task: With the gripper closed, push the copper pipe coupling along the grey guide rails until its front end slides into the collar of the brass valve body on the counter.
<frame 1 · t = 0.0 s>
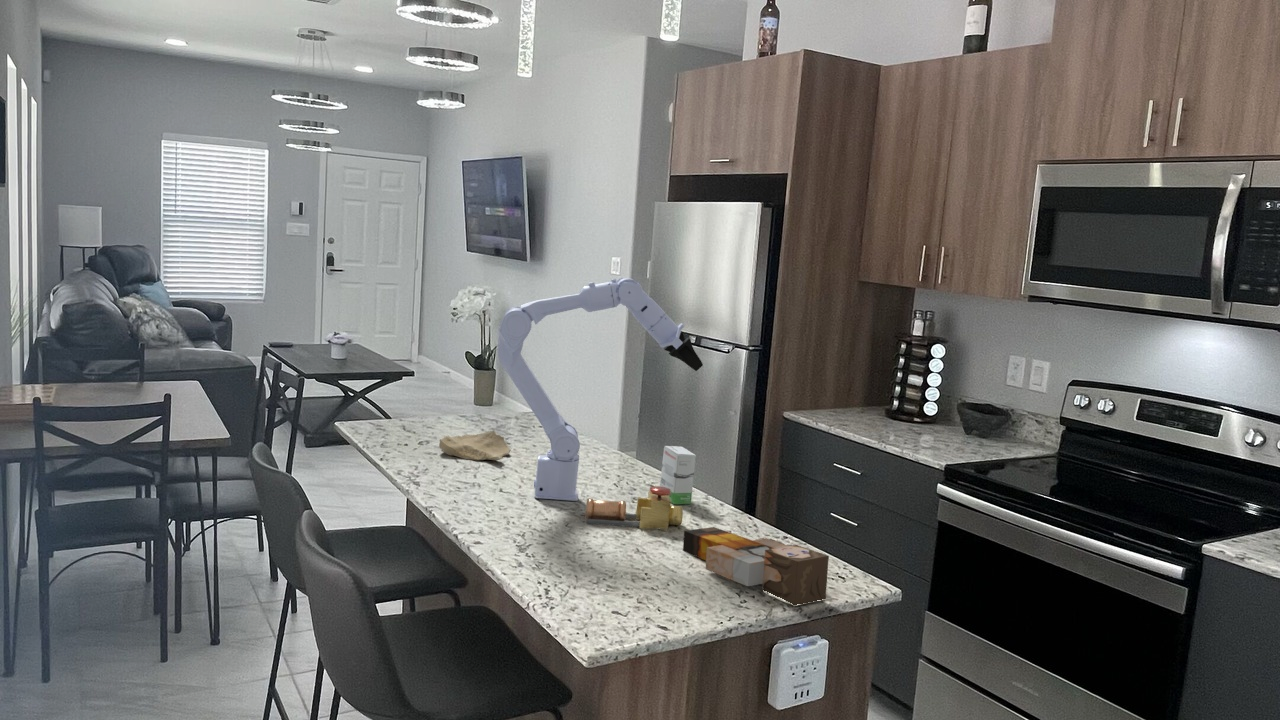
hand: (696, 365, 209), 32 cm above the kitchen island, tool tilted 50°, fingers open, 7 cm apart
valve: (656, 524, 197), on the kitchen island
coupling: (604, 520, 195), on the kitchen island
rock: (480, 457, 238), on the kitchen island
rails: (611, 521, 196), on the kitchen island
ink box: (674, 500, 217), on the kitchen island
toy: (749, 576, 173), on the kitchen island
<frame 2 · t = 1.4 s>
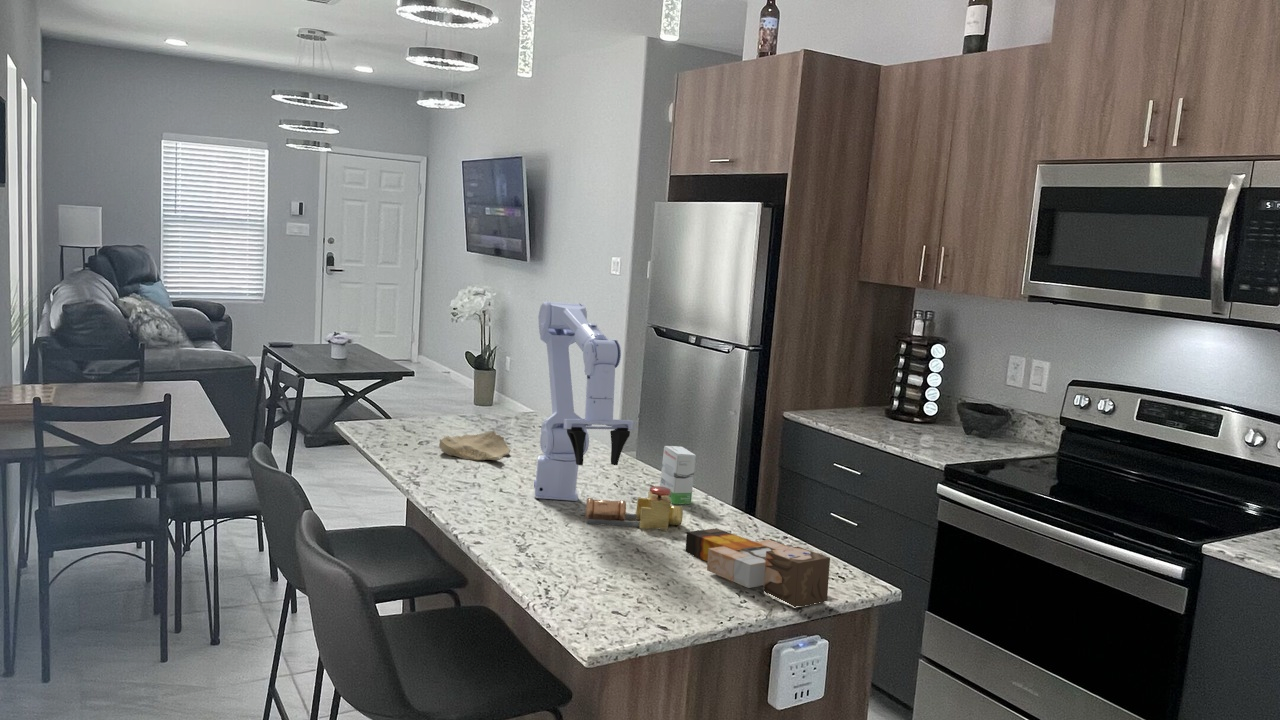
hand: (597, 464, 191), 12 cm above the kitchen island, tool pointing down, fingers open, 7 cm apart
coupling: (604, 520, 195), on the kitchen island, tilted 9°
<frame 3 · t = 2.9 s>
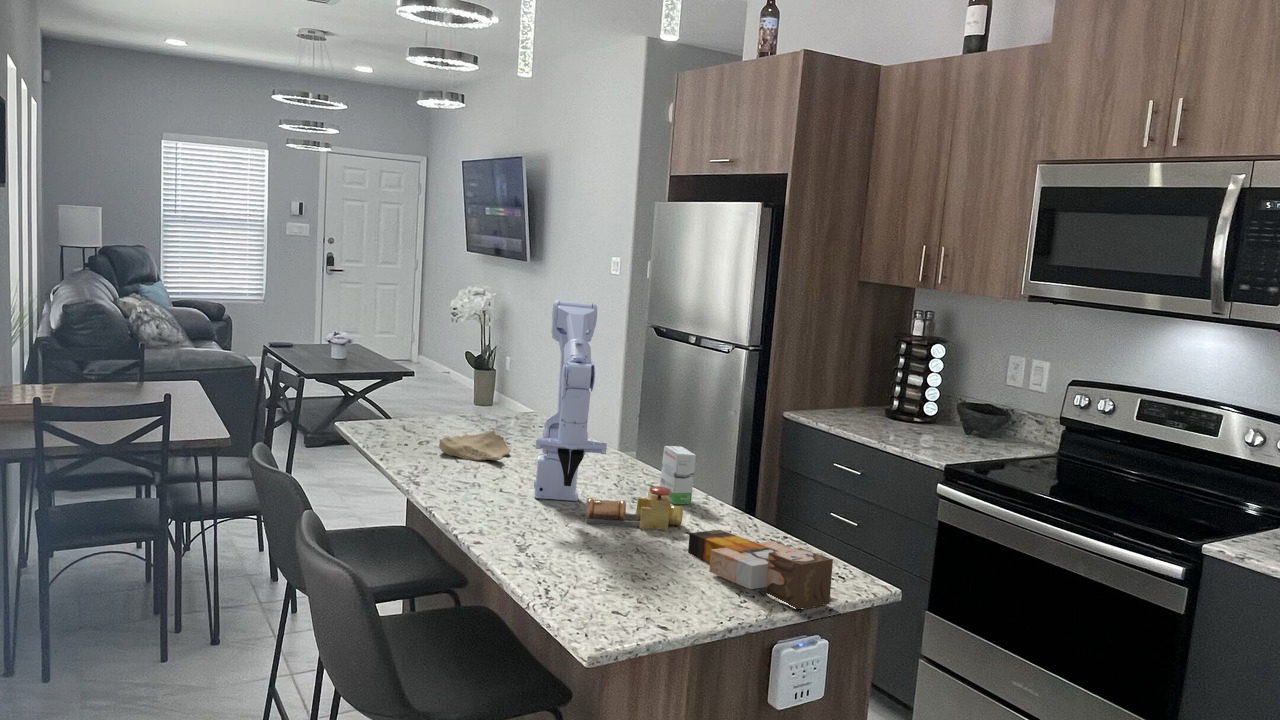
hand: (567, 484, 193), 7 cm above the kitchen island, tool pointing down, fingers closed
coupling: (604, 520, 195), on the kitchen island, tilted 9°, touching rails
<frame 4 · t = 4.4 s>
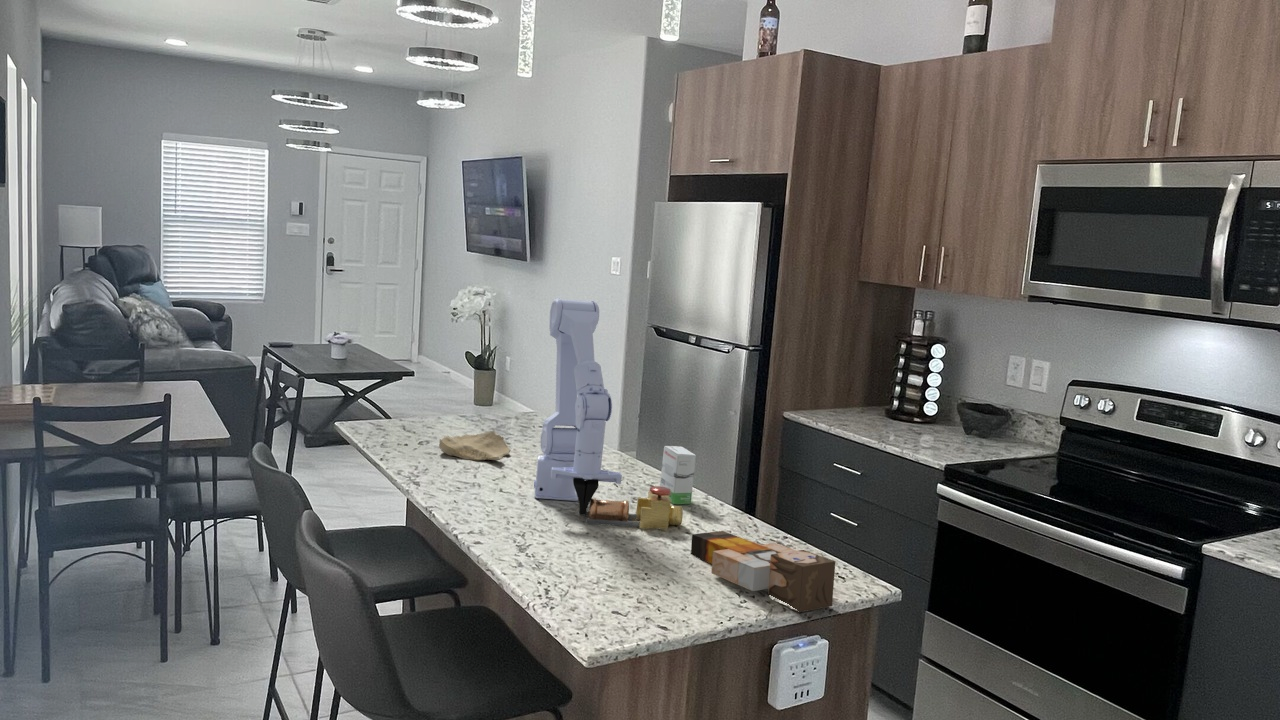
hand: (582, 513, 195), 1 cm above the kitchen island, tool pointing down, fingers closed
coupling: (607, 520, 195), on the kitchen island, tilted 9°, touching gripper
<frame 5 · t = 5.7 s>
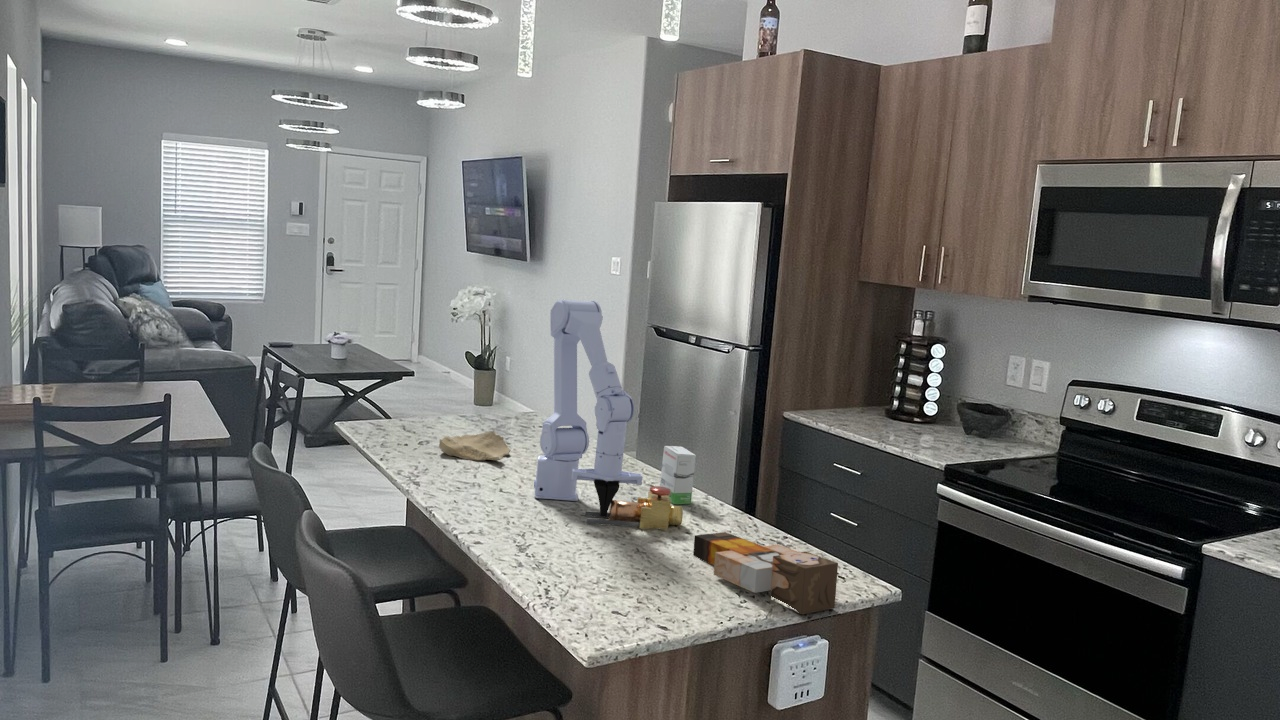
hand: (603, 515, 195), 1 cm above the kitchen island, tool pointing down, fingers closed
coupling: (628, 522, 196), on the kitchen island, tilted 9°, touching gripper, rails, valve
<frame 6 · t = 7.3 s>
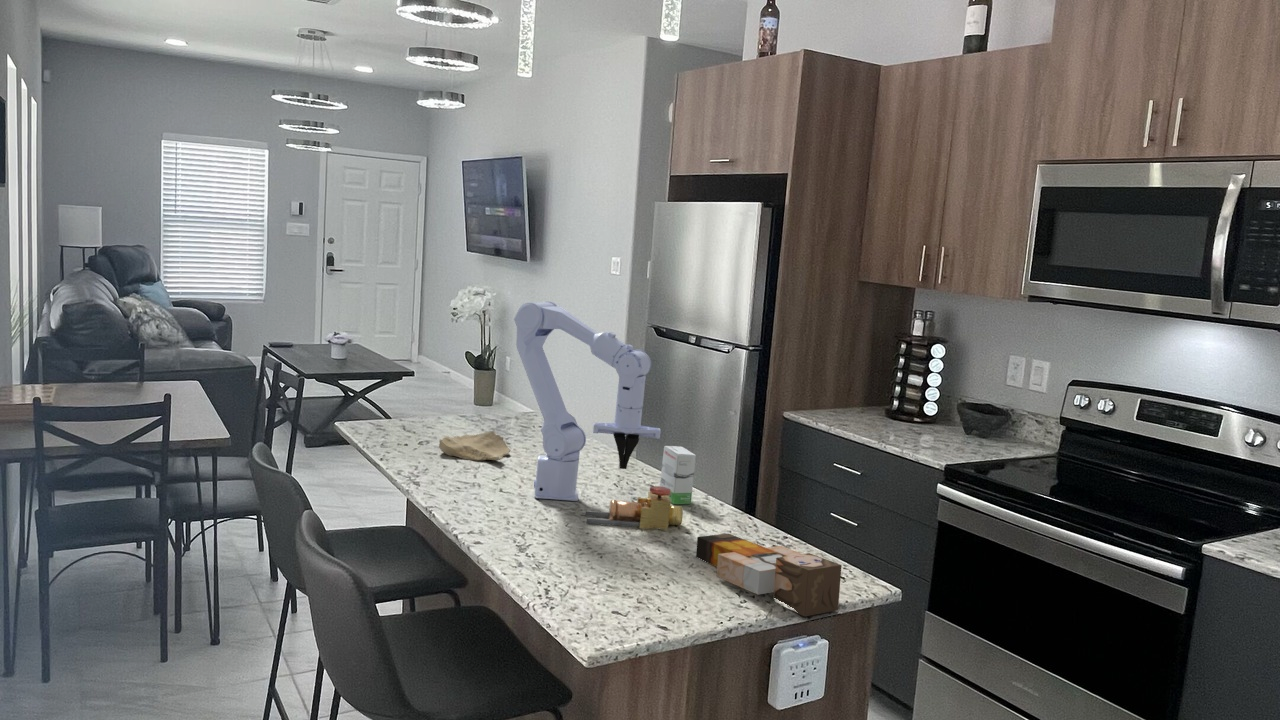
hand: (622, 467, 203), 9 cm above the kitchen island, tool pointing down, fingers closed
coupling: (628, 522, 196), on the kitchen island, tilted 9°, touching rails
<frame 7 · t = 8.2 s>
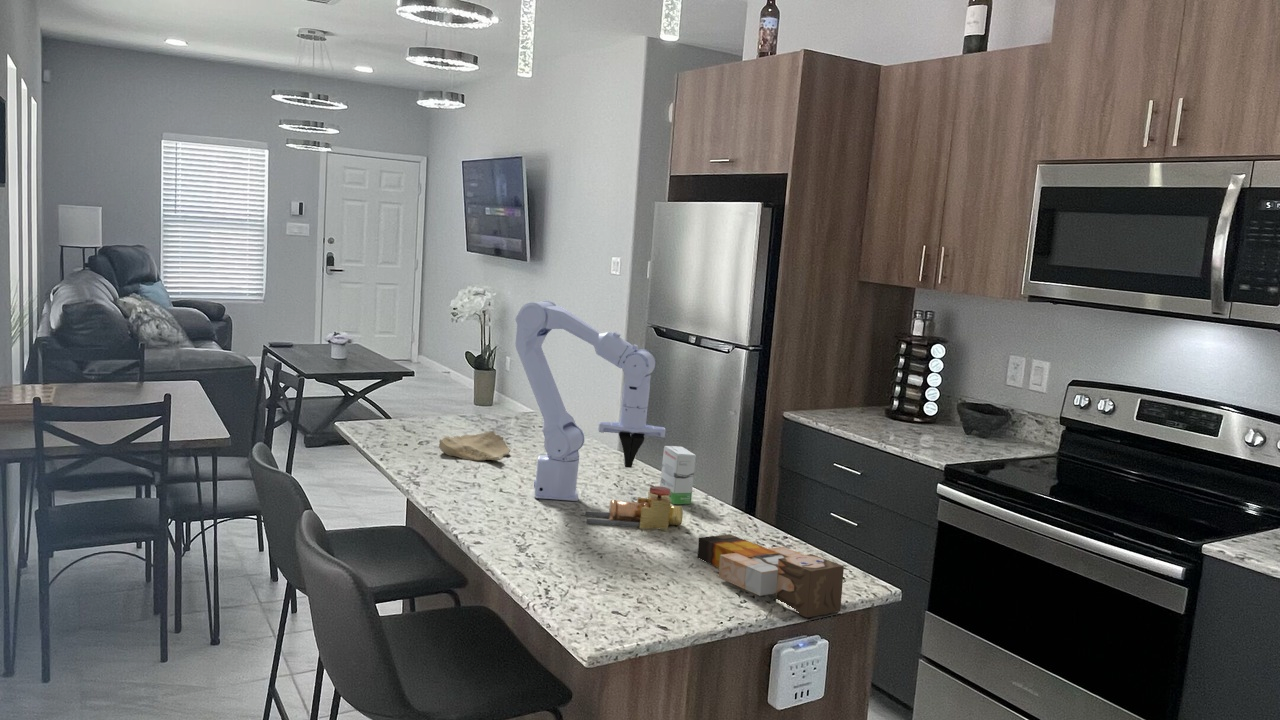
hand: (628, 466, 205), 9 cm above the kitchen island, tool pointing down, fingers closed
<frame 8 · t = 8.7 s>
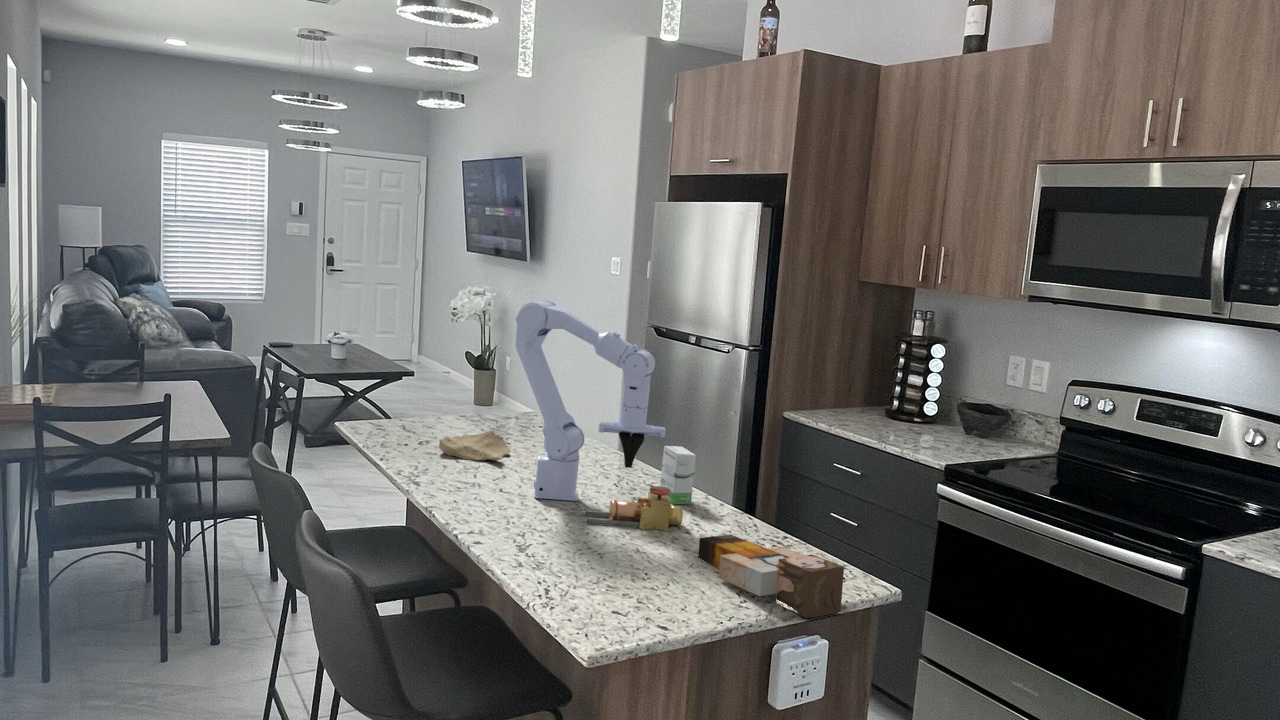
hand: (628, 466, 205), 9 cm above the kitchen island, tool pointing down, fingers closed
at the end: coupling 0.6 cm from the target spot on the kitchen island beside the valve, on the kitchen island; coupling moved 5.0 cm from its start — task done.
